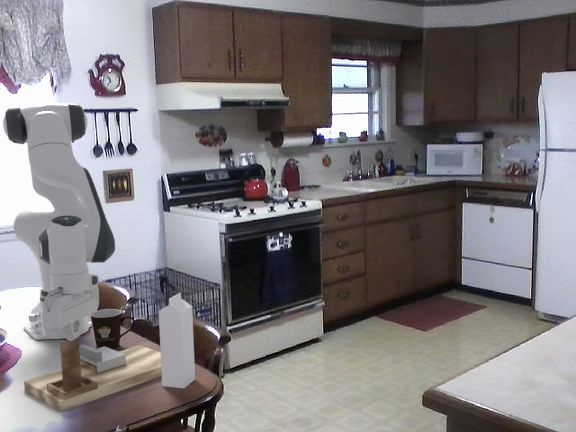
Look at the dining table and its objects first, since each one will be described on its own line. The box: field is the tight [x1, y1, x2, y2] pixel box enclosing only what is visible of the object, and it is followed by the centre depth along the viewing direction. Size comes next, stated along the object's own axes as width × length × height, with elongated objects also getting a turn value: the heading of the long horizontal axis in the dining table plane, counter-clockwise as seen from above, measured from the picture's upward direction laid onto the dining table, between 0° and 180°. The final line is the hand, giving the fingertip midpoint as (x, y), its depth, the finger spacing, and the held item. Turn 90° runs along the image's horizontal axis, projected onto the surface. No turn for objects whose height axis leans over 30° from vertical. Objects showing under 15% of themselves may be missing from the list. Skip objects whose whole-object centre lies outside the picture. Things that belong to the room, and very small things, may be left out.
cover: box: [79, 344, 126, 373], centre depth 161 cm, size 10×8×5 cm
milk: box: [158, 292, 196, 390], centre depth 153 cm, size 6×6×22 cm
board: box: [23, 344, 162, 413], centre depth 157 cm, size 18×33×4 cm, turn 138°
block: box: [59, 339, 82, 392], centre depth 145 cm, size 4×4×11 cm
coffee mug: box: [90, 308, 136, 350], centre depth 181 cm, size 12×9×10 cm
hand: (73, 338), depth 154 cm, fingers closed
